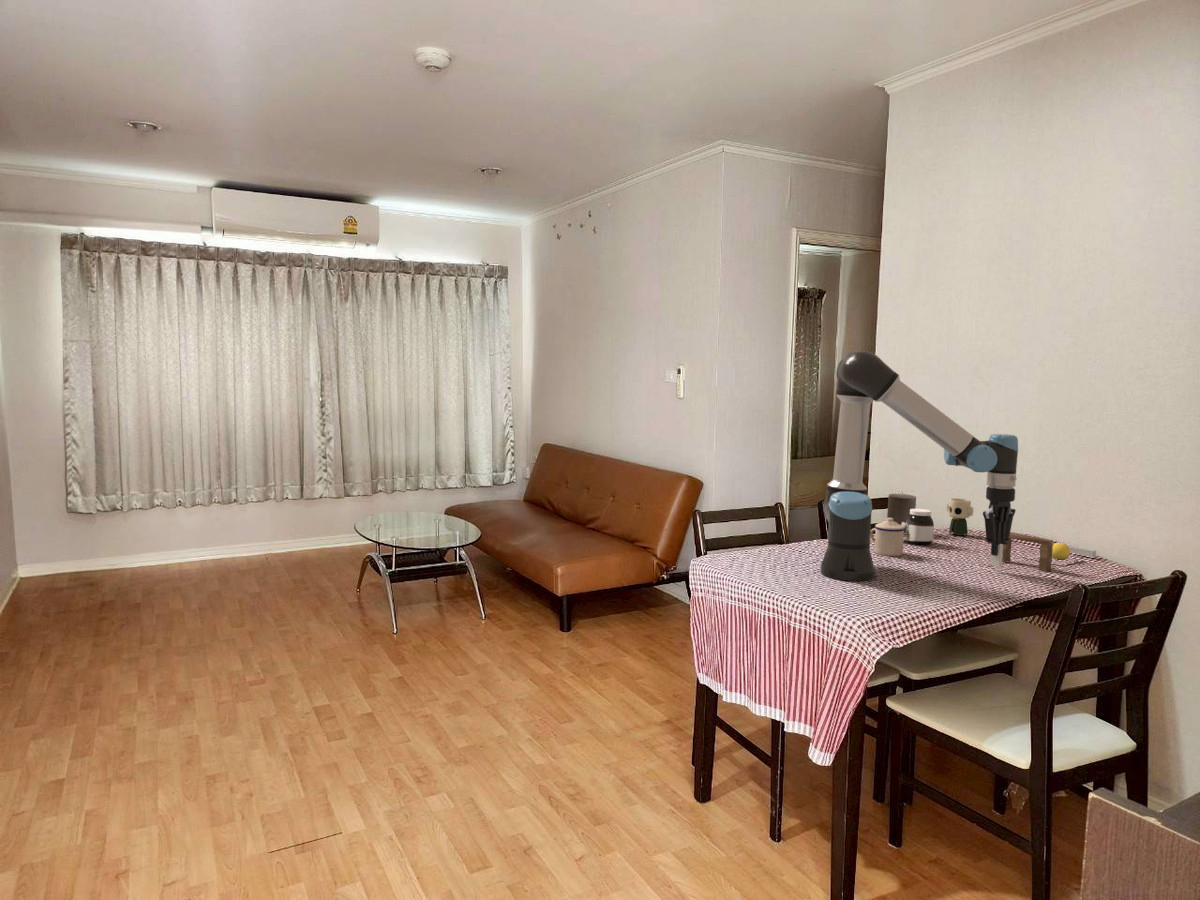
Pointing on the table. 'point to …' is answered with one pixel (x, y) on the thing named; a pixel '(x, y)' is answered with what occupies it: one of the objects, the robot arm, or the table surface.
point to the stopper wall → (1082, 551)
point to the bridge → (1045, 544)
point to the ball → (1060, 551)
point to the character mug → (959, 515)
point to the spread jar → (919, 527)
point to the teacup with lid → (888, 538)
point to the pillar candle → (900, 507)
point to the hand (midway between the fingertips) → (996, 565)
